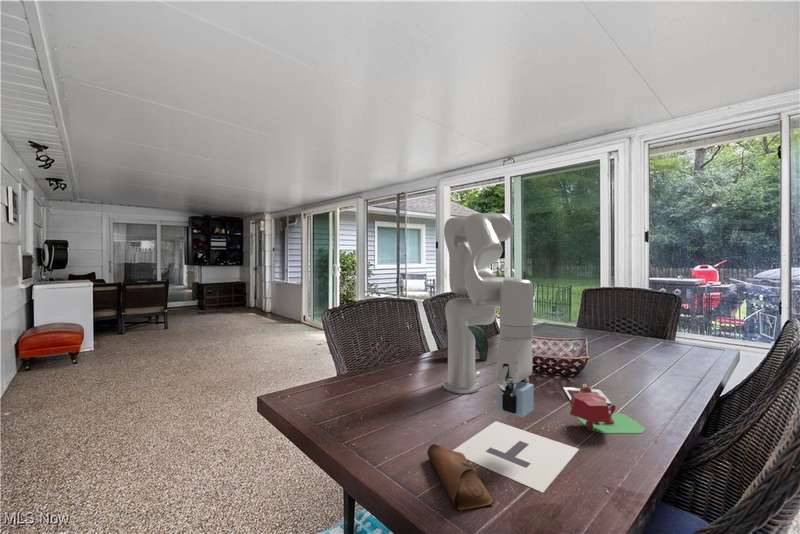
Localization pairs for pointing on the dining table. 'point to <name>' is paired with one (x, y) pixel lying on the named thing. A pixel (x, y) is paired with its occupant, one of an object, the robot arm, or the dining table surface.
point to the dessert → (586, 391)
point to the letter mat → (518, 454)
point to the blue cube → (520, 398)
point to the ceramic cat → (480, 340)
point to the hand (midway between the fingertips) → (515, 406)
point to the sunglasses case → (459, 479)
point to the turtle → (601, 415)
